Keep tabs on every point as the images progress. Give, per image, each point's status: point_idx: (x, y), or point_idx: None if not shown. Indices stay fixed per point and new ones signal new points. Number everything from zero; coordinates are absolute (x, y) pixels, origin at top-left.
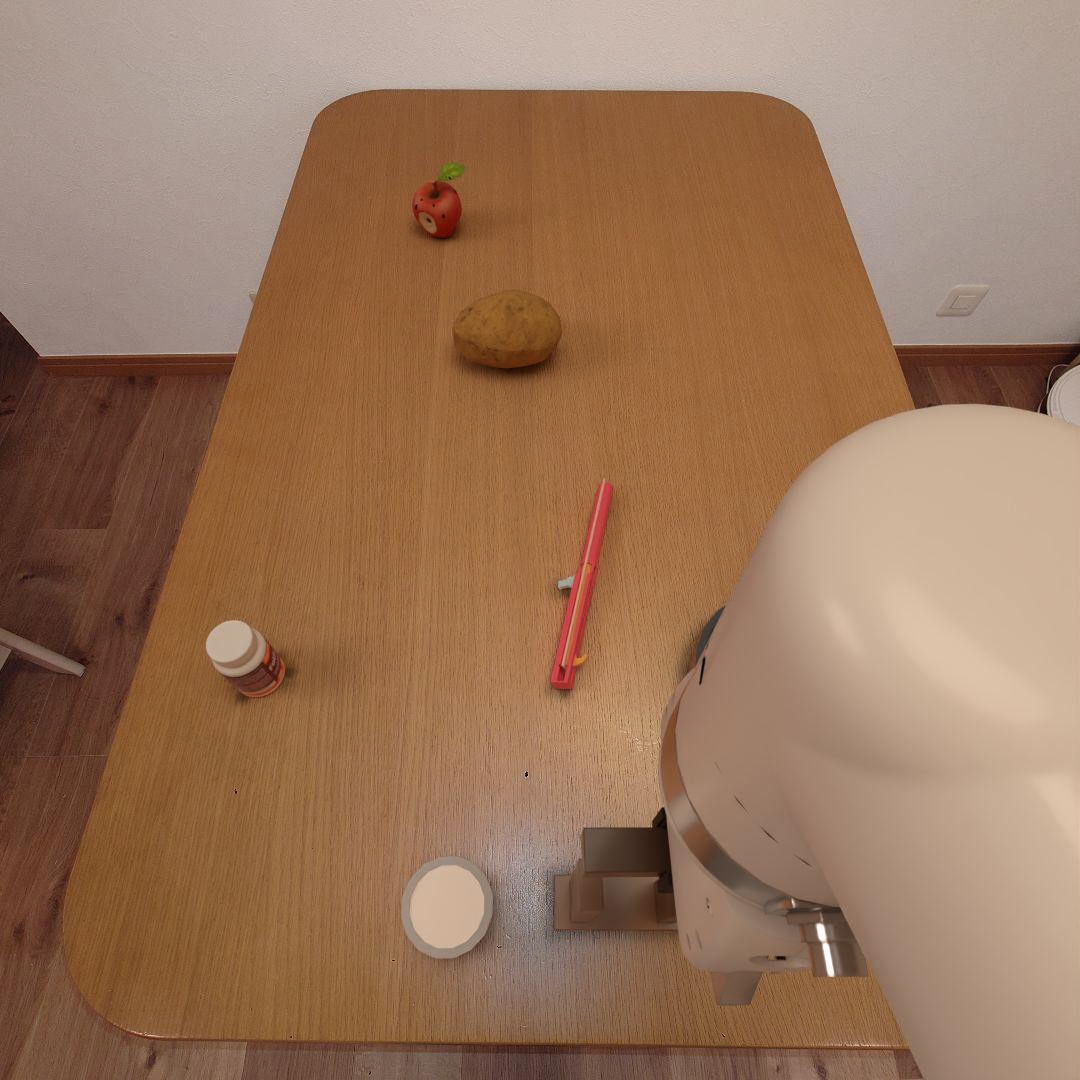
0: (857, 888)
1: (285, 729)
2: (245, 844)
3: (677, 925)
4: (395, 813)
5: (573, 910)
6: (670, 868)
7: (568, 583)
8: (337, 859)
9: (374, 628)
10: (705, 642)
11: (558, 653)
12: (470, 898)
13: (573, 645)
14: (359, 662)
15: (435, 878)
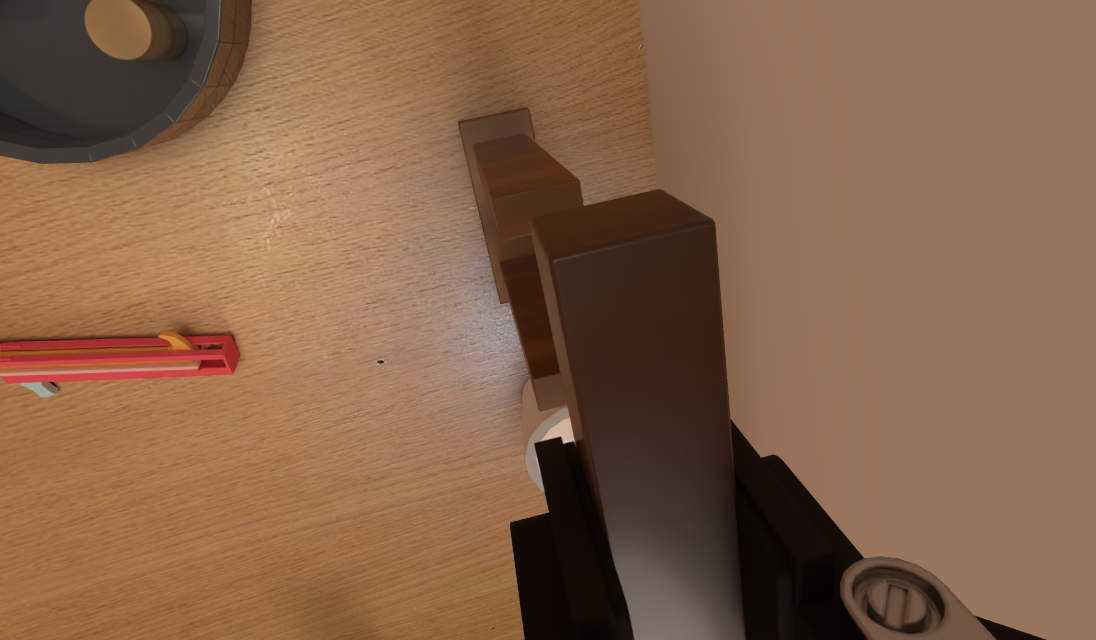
0: None
1: (414, 618)
2: None
3: (527, 129)
4: (473, 487)
5: None
6: (740, 636)
7: (36, 383)
8: None
9: (251, 588)
10: (22, 147)
11: (178, 374)
12: (569, 432)
13: (152, 359)
14: (305, 586)
15: None
